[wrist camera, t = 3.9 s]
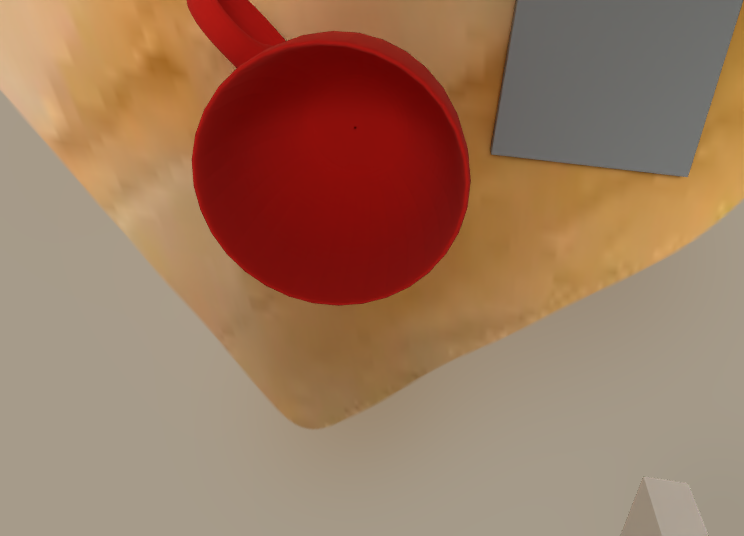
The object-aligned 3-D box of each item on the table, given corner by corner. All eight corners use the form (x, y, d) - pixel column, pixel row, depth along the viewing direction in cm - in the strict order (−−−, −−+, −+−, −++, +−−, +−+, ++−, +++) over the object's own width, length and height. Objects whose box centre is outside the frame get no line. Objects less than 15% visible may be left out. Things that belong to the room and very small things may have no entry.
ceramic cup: (333, -114, 36) (293, -119, 27) (511, 152, 41) (525, 221, 32) (156, 40, 40) (71, 80, 31) (336, 262, 45) (307, 348, 37)
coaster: (525, -60, 36) (527, -58, 35) (746, -38, 35) (754, -36, 34) (490, 148, 41) (491, 154, 40) (682, 171, 40) (687, 177, 39)
